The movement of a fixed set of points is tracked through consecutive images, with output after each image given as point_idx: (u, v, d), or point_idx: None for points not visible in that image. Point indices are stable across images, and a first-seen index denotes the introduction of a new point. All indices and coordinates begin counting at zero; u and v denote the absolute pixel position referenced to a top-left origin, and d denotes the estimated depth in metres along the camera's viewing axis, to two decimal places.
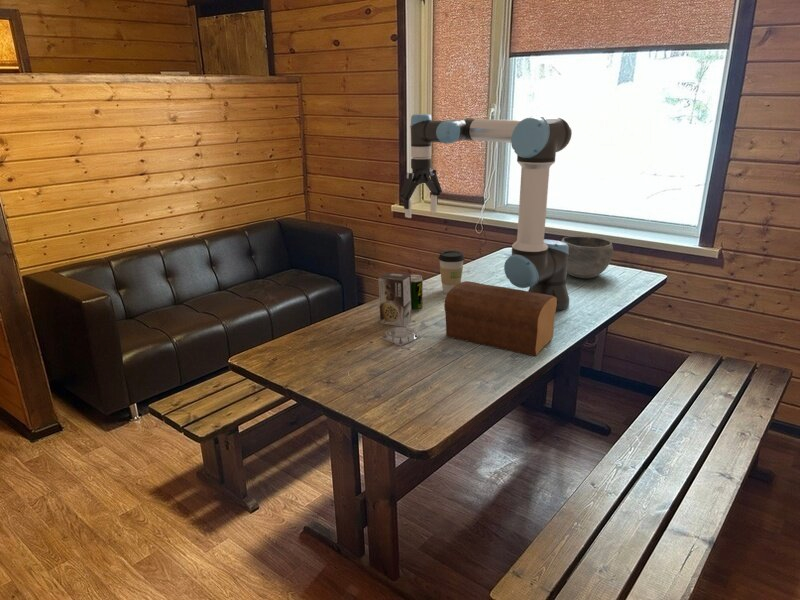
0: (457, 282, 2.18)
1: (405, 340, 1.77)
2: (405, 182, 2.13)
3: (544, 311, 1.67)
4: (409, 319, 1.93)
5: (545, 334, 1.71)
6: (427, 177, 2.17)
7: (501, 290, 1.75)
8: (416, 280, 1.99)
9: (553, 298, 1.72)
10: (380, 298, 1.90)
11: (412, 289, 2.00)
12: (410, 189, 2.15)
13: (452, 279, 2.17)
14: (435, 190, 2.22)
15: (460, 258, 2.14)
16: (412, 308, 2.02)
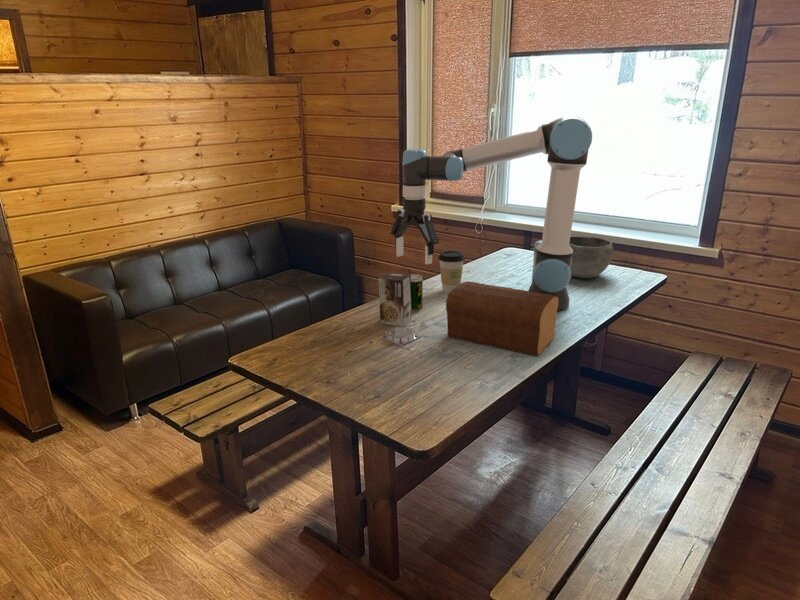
0: (457, 282, 2.18)
1: (405, 340, 1.77)
2: None
3: (546, 311, 1.67)
4: (409, 319, 1.93)
5: (546, 334, 1.71)
6: (413, 220, 1.92)
7: (503, 290, 1.75)
8: (416, 280, 1.99)
9: (555, 298, 1.72)
10: (380, 298, 1.90)
11: (412, 289, 2.00)
12: None
13: (452, 279, 2.17)
14: (425, 239, 1.91)
15: (460, 258, 2.14)
16: (412, 308, 2.02)
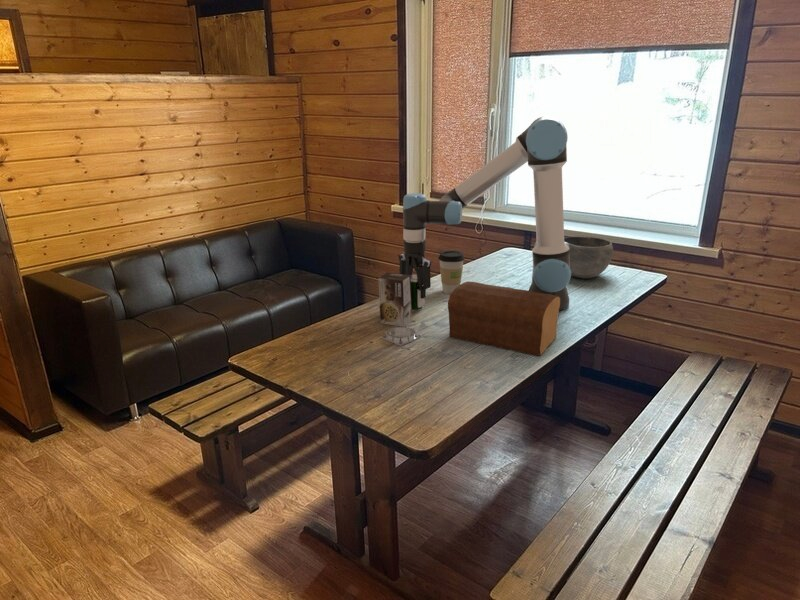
0: (457, 282, 2.18)
1: (405, 340, 1.77)
2: None
3: (549, 310, 1.67)
4: (409, 319, 1.93)
5: (549, 334, 1.71)
6: (412, 262, 1.97)
7: (505, 290, 1.74)
8: (416, 280, 1.99)
9: (557, 297, 1.72)
10: (380, 298, 1.90)
11: (412, 289, 2.00)
12: None
13: (452, 279, 2.17)
14: (419, 283, 1.98)
15: (460, 258, 2.14)
16: (412, 308, 2.02)
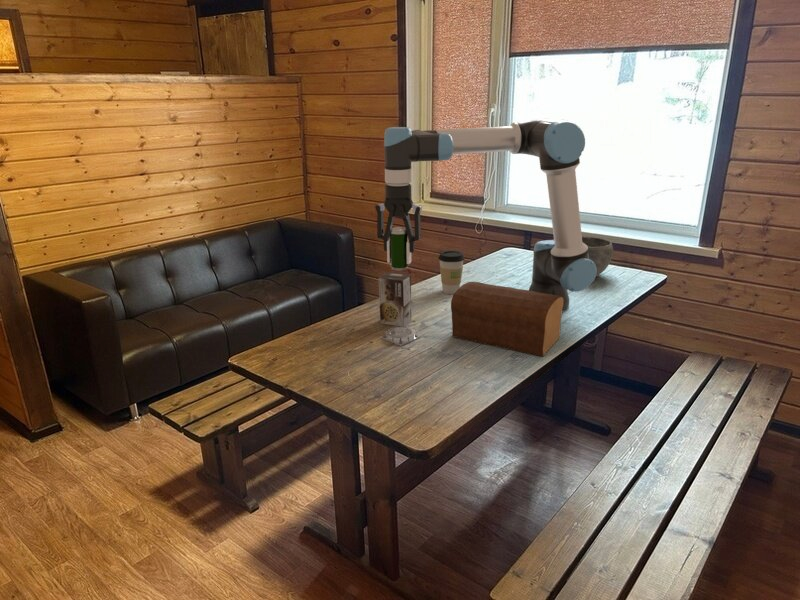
0: (457, 282, 2.18)
1: (405, 340, 1.77)
2: None
3: (552, 311, 1.66)
4: (409, 319, 1.93)
5: (552, 334, 1.71)
6: (400, 210, 1.66)
7: (508, 290, 1.74)
8: (404, 232, 1.68)
9: (560, 298, 1.72)
10: (380, 298, 1.90)
11: (400, 243, 1.69)
12: None
13: (452, 279, 2.17)
14: (409, 234, 1.69)
15: (460, 258, 2.14)
16: (400, 266, 1.71)
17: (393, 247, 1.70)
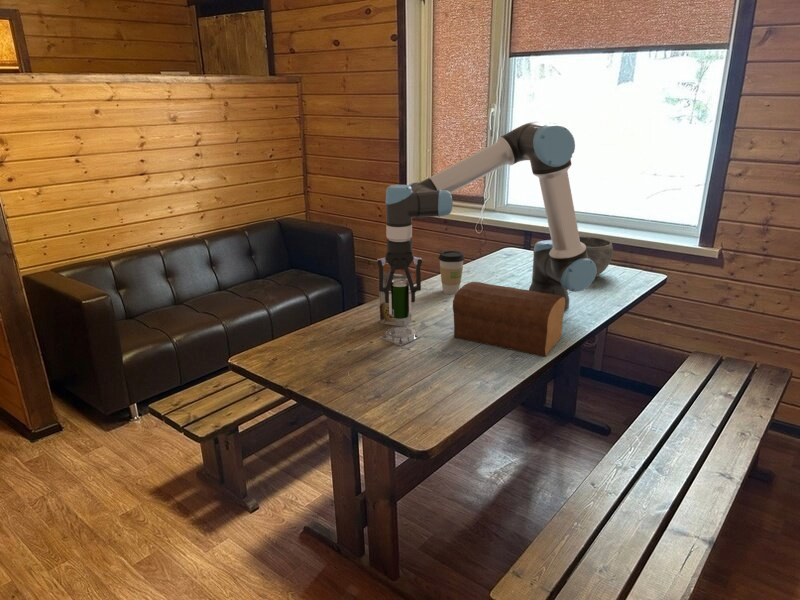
0: (457, 282, 2.18)
1: (405, 340, 1.77)
2: None
3: (554, 311, 1.66)
4: (409, 319, 1.93)
5: (554, 334, 1.71)
6: (403, 263, 1.72)
7: (510, 290, 1.74)
8: (406, 283, 1.74)
9: (562, 298, 1.72)
10: (380, 298, 1.90)
11: (404, 295, 1.74)
12: (388, 279, 1.75)
13: (452, 279, 2.17)
14: (411, 285, 1.75)
15: (460, 258, 2.14)
16: (404, 316, 1.77)
17: (396, 299, 1.75)
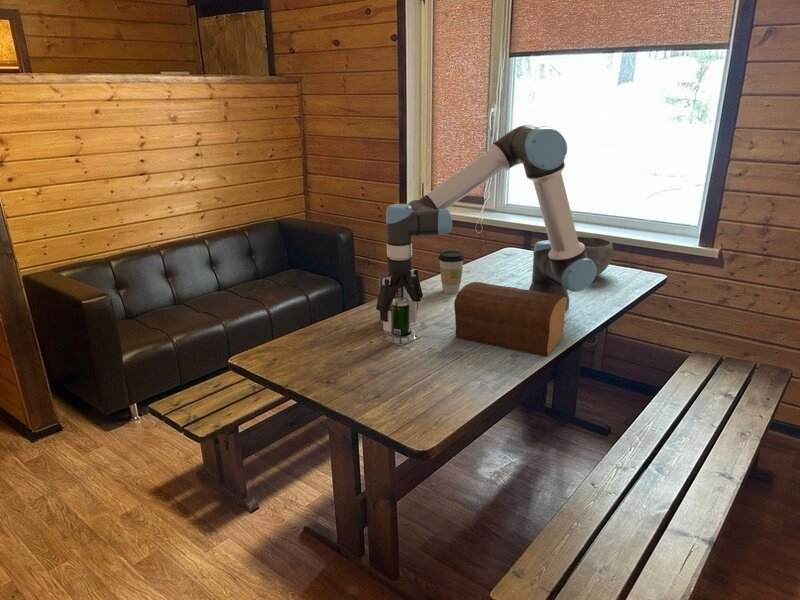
0: (457, 282, 2.18)
1: (405, 340, 1.77)
2: (381, 290, 1.71)
3: (556, 311, 1.66)
4: None
5: (556, 334, 1.71)
6: (407, 280, 1.75)
7: (511, 290, 1.74)
8: (408, 301, 1.78)
9: (563, 298, 1.72)
10: None
11: (408, 312, 1.78)
12: (388, 297, 1.73)
13: (452, 279, 2.17)
14: (415, 295, 1.80)
15: (460, 258, 2.14)
16: (408, 333, 1.80)
17: (403, 318, 1.77)
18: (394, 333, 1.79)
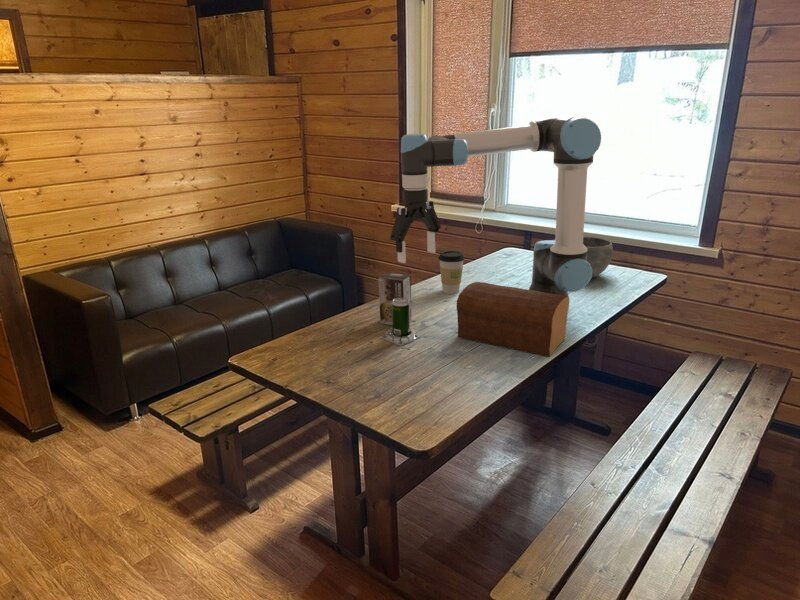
0: (457, 282, 2.18)
1: (405, 340, 1.77)
2: (397, 219, 1.70)
3: (558, 311, 1.66)
4: (409, 319, 1.93)
5: (558, 334, 1.70)
6: (423, 211, 1.75)
7: (514, 290, 1.74)
8: (408, 301, 1.78)
9: (566, 298, 1.72)
10: (380, 298, 1.90)
11: (408, 312, 1.78)
12: (403, 228, 1.72)
13: (452, 279, 2.17)
14: (433, 226, 1.80)
15: (460, 258, 2.14)
16: (408, 333, 1.80)
17: (403, 318, 1.77)
18: (394, 333, 1.79)
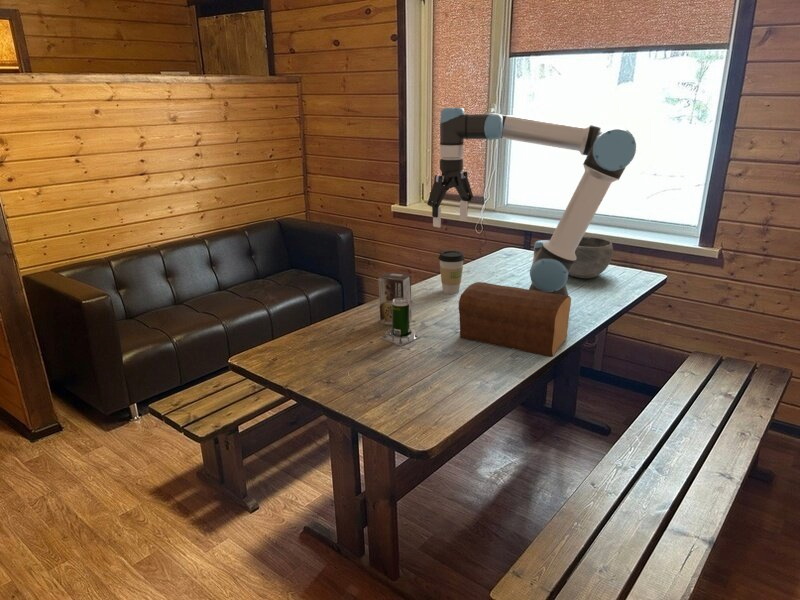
0: (457, 282, 2.18)
1: (405, 340, 1.77)
2: (434, 186, 1.84)
3: (561, 311, 1.66)
4: (409, 319, 1.93)
5: (560, 334, 1.70)
6: (458, 180, 1.88)
7: (516, 291, 1.74)
8: (408, 301, 1.78)
9: (568, 298, 1.72)
10: (380, 298, 1.90)
11: (408, 312, 1.78)
12: (439, 194, 1.86)
13: (452, 279, 2.17)
14: (466, 195, 1.94)
15: (460, 258, 2.14)
16: (408, 333, 1.80)
17: (403, 318, 1.77)
18: (394, 333, 1.79)
